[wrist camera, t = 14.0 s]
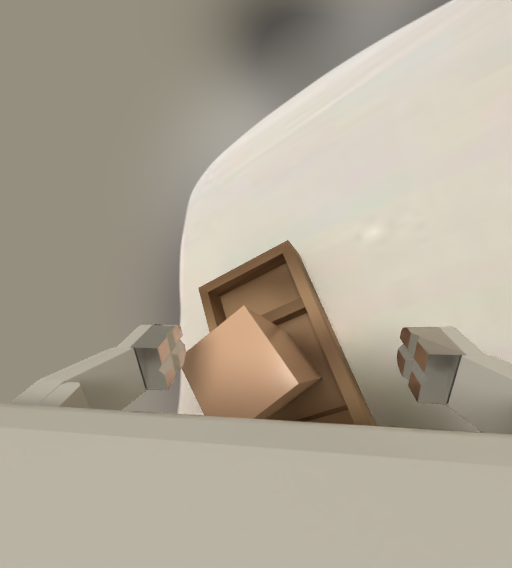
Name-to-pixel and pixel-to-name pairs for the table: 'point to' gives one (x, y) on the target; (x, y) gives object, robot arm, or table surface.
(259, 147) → the table surface
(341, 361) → the brown wooden divided tray
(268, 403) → the peach upright block
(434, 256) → the table surface
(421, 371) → the robot arm
